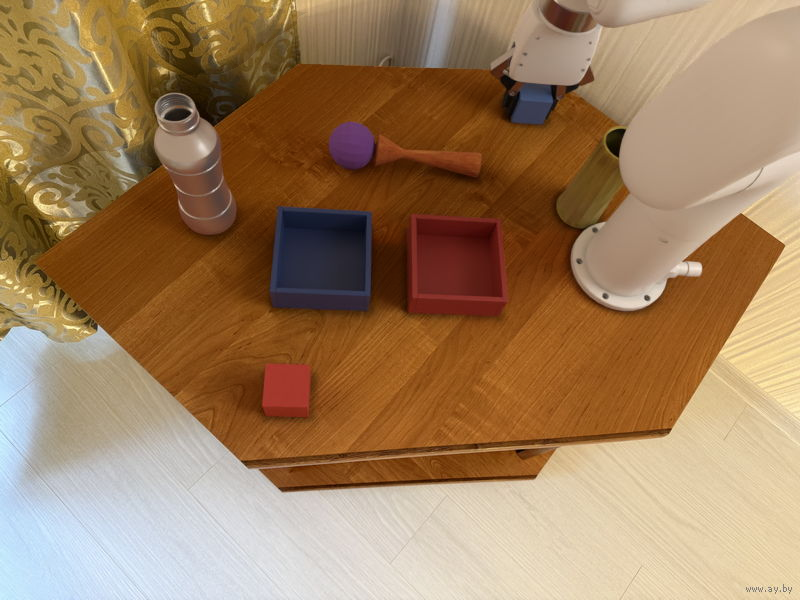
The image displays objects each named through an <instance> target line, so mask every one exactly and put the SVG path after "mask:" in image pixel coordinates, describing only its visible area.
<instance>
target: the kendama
mask: <svg viewBox="0 0 800 600" xmlns="http://www.w3.org/2000/svg"><path fill="white" fill-rule="evenodd" d="M328 150H329V154H330V157H331V158H332V159H333V161H334V162H335V163H336V164H337V165H338V166H340V167H342V168H343V169H346V170H352V171H355V170H358V169H362V168H364V167H365V166H367V165H368V164H369V163H370V162H371V160H372V159H373V161H374V162H373V163H374V164H373V165H374V167H376V166H380V165H383V164H387V163H390V162H394V161H396V160H401V159H405V160H409V161H412V162H416V163H419V164H423V165H427V166H431V167H434V168H437V169H443V170H445V171H450V172H452V173H457V174H461V175H465V176H468V177H472V178H476V179H477V178H478V177H479V174H480V173H481V170H482V163H483V155H482V152H477V151H475V152H474V151H448V150H425V149H424V150H423V149H405V148H402V147H400V145H398V144H396V142H393V141H391V139H389V138H388V137H386V136H384V135H383V134H381V133H378V135H377V138H376V141H375V137H374V135H373V133H372V132H371V131H370V129H369V128H368V126H365V125H364V124H362V123H360V122H355V121H346V122H343V123H340V124H339V125H338V126H336V127H335V128H334V129H333V131H332V132H331V135H330V136H329V139H328Z"/></svg>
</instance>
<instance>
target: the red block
mask: <svg viewBox="0 0 800 600" xmlns="http://www.w3.org/2000/svg"><path fill="white" fill-rule="evenodd" d="M311 380H312V374H311V365H310V364H300V363H299V364H298V363H297V364H296V363H267V362H266V363H265V369H264V381H263V391H262V401H261V402H262V403H261V407H262V410H263V412H264V415H265V416H266V417H280V418H281V417H285V418H286V417H287V418H309V417H310V401H311V385H312V384H311V383H312V381H311Z"/></svg>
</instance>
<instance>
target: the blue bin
mask: <svg viewBox="0 0 800 600" xmlns="http://www.w3.org/2000/svg"><path fill="white" fill-rule="evenodd" d="M276 209H277V210H276V221H275V232H274V243H273V254H272V263H271V275H270V287H269V295H270V300H271V304H272V308H277V309H278V308H282V309H305V310H326V311H327V310H328V311H329V310H330V311H331V310H332V311H351V312H353V311H355V312H369V307H370V301H371V287H372V286H371V285H372V283H371V282H372V279H371V278H372V274H371V273H372V225H373V224H372V223H373V211H371V210H369V211H367V210H353V209H352V210H350V209H337V208H336V209H334V208H333V209H332V208H317V207H298V206H282V205H281V206H280V205H277V208H276Z"/></svg>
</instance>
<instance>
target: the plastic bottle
mask: <svg viewBox="0 0 800 600" xmlns="http://www.w3.org/2000/svg"><path fill="white" fill-rule="evenodd" d="M154 112H155V113H154V114H155V115H156V120H157V123H158V127H157V129H156V131H155V134H154V137H153V138H154V140H153V141H154V142H153V148H154V153H155V154H156V156H157V158H158V160H159V161H160V163H161V164H162V166H163V167H164V169H165V171H166V172H167V173H168V175H169V177H170V179H171V181H172V182H173V184H174V186H175V190H176V194H177V201H178V211H179V214H180V217H181V219H182V221H183V222H184V223H185V224H186V225H187V227H188V228H190V230H192V231H193V232H195V233H197V234H200V235H205V236H213V235H214V236H215V235H218V234H221V233H224V232H225V231H227V230H228V229H229V228H231V227H232V226H233V224H234V222H235V220H236V218H237V210H238V209H237V207H238V206H237V201H236V198H235V197H234V195H233V192H231V190H230V188H229V186H228V184H227V181H226V179H225V177H224V171H223V164H222V143H221V142H222V141H221V137H220V135H219V133H218V132H217V130H216V129H215V128H214V126H213V125H212V124H211V123H210V122H208V121H207V120H206V119H204V118H202V117H201V116H200V113H199V111H198V109H197V107H196V104H195V102H194V100H193V99H192V98H191V97H190V96H188V95H187V94H184V93H180V92H169V93H166V94H164V95H162V96H160V97H159V98H158V99H157V100H156V102H155V104H154Z"/></svg>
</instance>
